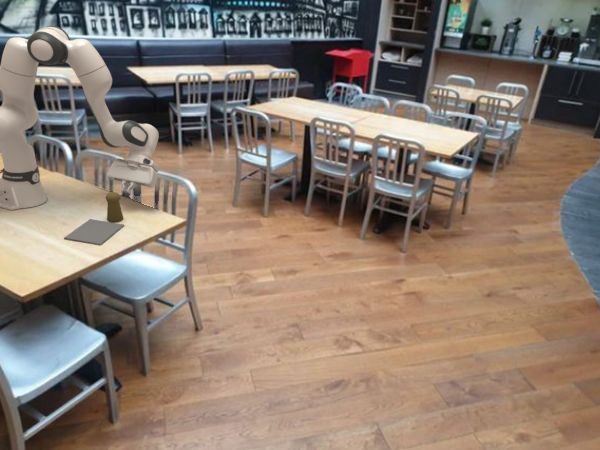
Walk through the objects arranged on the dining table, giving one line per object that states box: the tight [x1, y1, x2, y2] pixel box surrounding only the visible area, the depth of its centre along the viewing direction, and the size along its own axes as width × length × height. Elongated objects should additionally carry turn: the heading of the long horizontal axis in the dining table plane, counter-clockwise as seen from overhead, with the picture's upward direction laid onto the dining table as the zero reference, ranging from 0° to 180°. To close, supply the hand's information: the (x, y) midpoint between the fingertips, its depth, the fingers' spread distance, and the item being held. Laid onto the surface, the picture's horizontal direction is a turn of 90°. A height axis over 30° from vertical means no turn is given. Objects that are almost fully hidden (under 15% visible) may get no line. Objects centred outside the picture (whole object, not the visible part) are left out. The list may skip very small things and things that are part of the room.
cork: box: [105, 191, 124, 223], centre depth 176 cm, size 6×6×11 cm
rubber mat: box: [63, 218, 125, 246], centre depth 168 cm, size 14×16×1 cm
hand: (125, 192), depth 182 cm, fingers closed
